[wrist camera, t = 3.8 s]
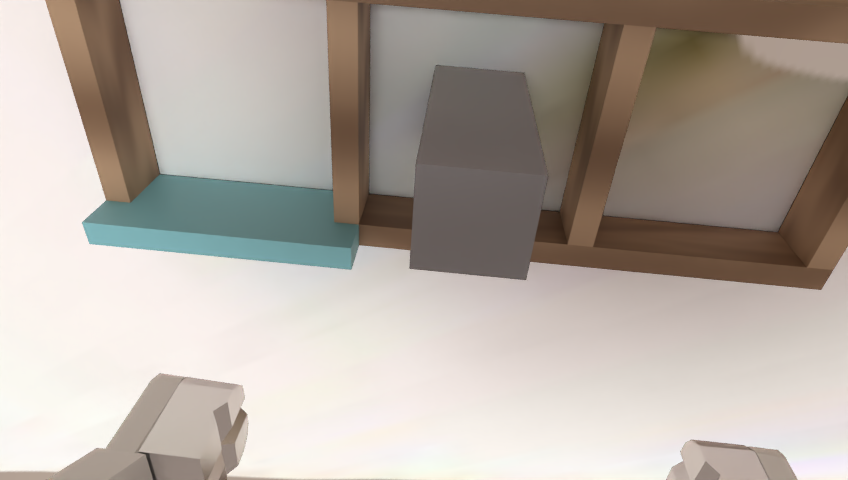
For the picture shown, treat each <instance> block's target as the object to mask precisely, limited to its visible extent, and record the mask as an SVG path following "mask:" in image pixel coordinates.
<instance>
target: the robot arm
mask: <svg viewBox="0 0 848 480" xmlns="http://www.w3.org/2000/svg"><path fill="white" fill-rule="evenodd" d="M244 399H245V395H244V390H243V386H242V385H237V384H230V383H224V382H217V381H210V380H204V379H197V378H190V377H183V376H175V375H168V374H161V373H160V374H158V375H157V376H156V377H155V378H153V379H152V380H151V381H150V383H149V384H148V386H147V387H146V389H145V390H144V392H143V393H142V395H141V396H140V398H139V399H138V401H137V402H136V404H135V405H134V407H133V408H132V410H131V411H130V413H129V414H128V416H127V417H126V419H125V420H124V422H123V423H122V425H121V426H120V428H119V429H118V431H117V432H116V434H115V435H114V437H113V438H112V440H111V441H110V443H109V444H108V446H107V447H106V449H103V448H96V449H94V450H93V451H91V452H90V453H88V454H86V455H85V456H83V457H82V458H80V459H78V460H77V461H75V462H74V463H72V464H70V465H69V466H67V467H66V468H64V469H62V470H61V471H59V472H58V473H56V474H54V475H53V476H51V477H50V478H48V479H46V480H227V475H226V474H228V473H229V472H230V471H232V470H233V469H234V468H235V467H237V466H238V464H239V462H240V459H241V457H242V454H243V452H244V448H245V444H246V440H247V435H248V417H247V414H246V413H245V412H244V411H243V410H242V409H241V406H242V404H243V401H244ZM680 453H681V456H682V459H683V462H681V463H679V464H677V465H675V466H673V467H672V468H671V470H670V472H669V474H668V476H667V479H666V480H797V478H796V476H795V474H794V472H793V470H792V469H791V467H790V465H789V463H788V461H787V459H786V458H785V456H784V455H783V454H782V453H781V452H779V451H778V450H773V449H765V448H757V447H746V446H744V445H736V444H727V443H718V442H709V441H700V440H690V441H688V442H686V443H685V444H684V446H683V448H682V450H681V451H680Z"/></svg>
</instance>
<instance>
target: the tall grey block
mask: <svg viewBox="0 0 848 480" xmlns="http://www.w3.org/2000/svg"><path fill="white" fill-rule="evenodd" d="M547 180H548V172H547V168H546V164H545V160H544V155H543V151H542V147H541V142H540V138H539V134H538V130H537V125H536V121H535V117H534V112H533V108H532V104H531V100H530V95H529V91H528V87H527V82H526V78H525V74H524V73H521V72H509V71H498V70H486V69H475V68H463V67H452V66H440V65H436V67H435V71H434V76H433V81H432V86H431V91H430V96H429V101H428V106H427V111H426V116H425V121H424V126H423V131H422V136H421V141H420V145H419V150H418V155H417V160H416V169H415V186H414V202H413V219H412V235H411V252H410V269H418V270H428V271H438V272H449V273H459V274H469V275H479V276H490V277H500V278H510V279H520V280H526V278H527V273H528V269H529V264H530V259H531V255H532V250H533V245H534V241H535V236H536V231H537V227H538V222H539V217H540V212H541V208H542V203H543V198H544V194H545V189H546V184H547Z"/></svg>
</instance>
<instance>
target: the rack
mask: <svg viewBox="0 0 848 480" xmlns="http://www.w3.org/2000/svg"><path fill="white" fill-rule="evenodd" d="M45 1H46V4H47V8H48V11H49V14H50V17H51V21H52V24H53V27H54V30H55V34H56V37H57V40H58V44H59V47H60V50H61V53H62V57H63V60H64V63H65V66H66V70H67V73H68V76H69V80H70V83H71V86H72V89H73V93H74V96H75V99H76V103H77V106H78V109H79V112H80V116H81V119H82V122H83V125H84V129H85V132H86V135H87V139H88V142H89V145H90V148H91V152H92V155H93V158H94V161H95V165H96V168H97V171H98V175H99V178H100V181H101V184H102V188H103V191H104V194H105V198H106V201H105V202H104V203H103V204H102V205H101V206H100V207H99V208H97V209H96V210H95V211H94V212H93V213H92V214H91V215H90V216H89V217H87V218H86V219H85V220H84V221H83V222H82V224H83V226H84V229H85V232H86V235H87V238H88V241H89V244H96V245H106V246H116V247H127V248H137V249H147V250H157V251H167V252H177V253H188V254H198V255H208V256H218V257H228V258H239V259H249V260H259V261H269V262H279V263H289V264H300V265H310V266H320V267H330V268H340V269H350V270H351V269H352V266H353V263H354V260H355V256H356V253H357V250H358V247H359V245H364V246H374V247H384V248H395V249H405V250H411V235H412V219H413V202H414V198H407V197H396V196H385V195H375V194H369V112H370V4H382V5H394V6H406V7H417V8H429V9H441V10H453V11H465V12H477V13H489V14H501V15H513V16H525V17H537V18H549V19H561V20H572V21H584V22H596V23H604V27H603V32H602V36H601V40H600V44H599V48H598V53H597V57H596V61H595V65H594V69H593V74H592V78H591V82H590V86H589V91H588V95H587V99H586V103H585V107H584V112H583V116H582V120H581V124H580V129H579V133H578V137H577V141H576V145H575V150H574V154H573V158H572V162H571V166H570V171H569V175H568V179H567V183H566V188H565V192H564V196H563V200H562V204H561V209H560V212H555V211H545V210H541V212H540V217H539V222H538V227H537V231H536V236H535V241H534V245H533V250H532V255H531V259H530V262H539V263H549V264H560V265H570V266H580V267H591V268H601V269H611V270H622V271H632V272H642V273H653V274H663V275H673V276H684V277H694V278H704V279H714V280H725V281H735V282H745V283H756V284H766V285H776V286H787V287H797V288H807V289H818V290H821V289H822V287H823V286H824V284H825V283H826V281H827V279H828V278H829V276H830V274H831V273H832V271H833V269H834V268H835V266H836V264H837V263H838V261H839V260H840V258H841V256H842V255H843V253H844V251H845V250H846V248H847V246H848V97H847V99H846V101H845V103H844V105H843V107H842V109H841V111H840V113H839V115H838V117H837V119H836V121H835V123H834V125H833V126H832V128H831V130H830V132H829V134H828V136H827V138H826V140H825V142H824V144H823V146H822V148H821V150H820V152H819V154H818V156H817V158H816V160H815V162H814V164H813V165H812V167H811V169H810V171H809V173H808V175H807V177H806V179H805V181H804V183H803V185H802V187H801V189H800V191H799V193H798V195H797V197H796V199H795V201H794V202H793V204H792V206H791V208H790V210H789V212H788V214H787V216H786V218H785V220H784V222H783V224H782V226H781V228H780V230H779V232H768V231H757V230H747V229H736V228H725V227H715V226H704V225H694V224H683V223H672V222H662V221H651V220H640V219H630V218H619V217H608V216H602V214H603V211H604V207H605V204H606V200H607V197H608V194H609V190H610V187H611V183H612V180H613V176H614V173H615V169H616V166H617V162H618V159H619V156H620V152H621V149H622V145H623V142H624V138H625V135H626V131H627V128H628V124H629V121H630V118H631V114H632V111H633V107H634V104H635V100H636V97H637V93H638V90H639V86H640V83H641V80H642V76H643V73H644V69H645V66H646V62H647V59H648V55H649V52H650V48H651V45H652V42H653V38H654V35H655V31H656V28H668V29H680V30H692V31H704V32H716V33H727V34H739V35H751V36H763V37H775V38H787V39H799V40H811V41H823V42H835V43H848V0H326V6H327V34H328V62H329V91H330V119H331V147H332V176H333V191H332V190H322V189H311V188H300V187H290V186H279V185H268V184H258V183H247V182H237V181H226V180H215V179H205V178H194V177H183V176H173V175H162V174H160V173H159V169H158V164H157V160H156V156H155V152H154V147H153V143H152V139H151V135H150V130H149V126H148V122H147V118H146V113H145V109H144V105H143V100H142V96H141V92H140V88H139V83H138V79H137V75H136V71H135V66H134V62H133V58H132V54H131V49H130V45H129V41H128V37H127V32H126V28H125V24H124V19H123V15H122V11H121V7H120V2H119V0H45Z"/></svg>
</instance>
